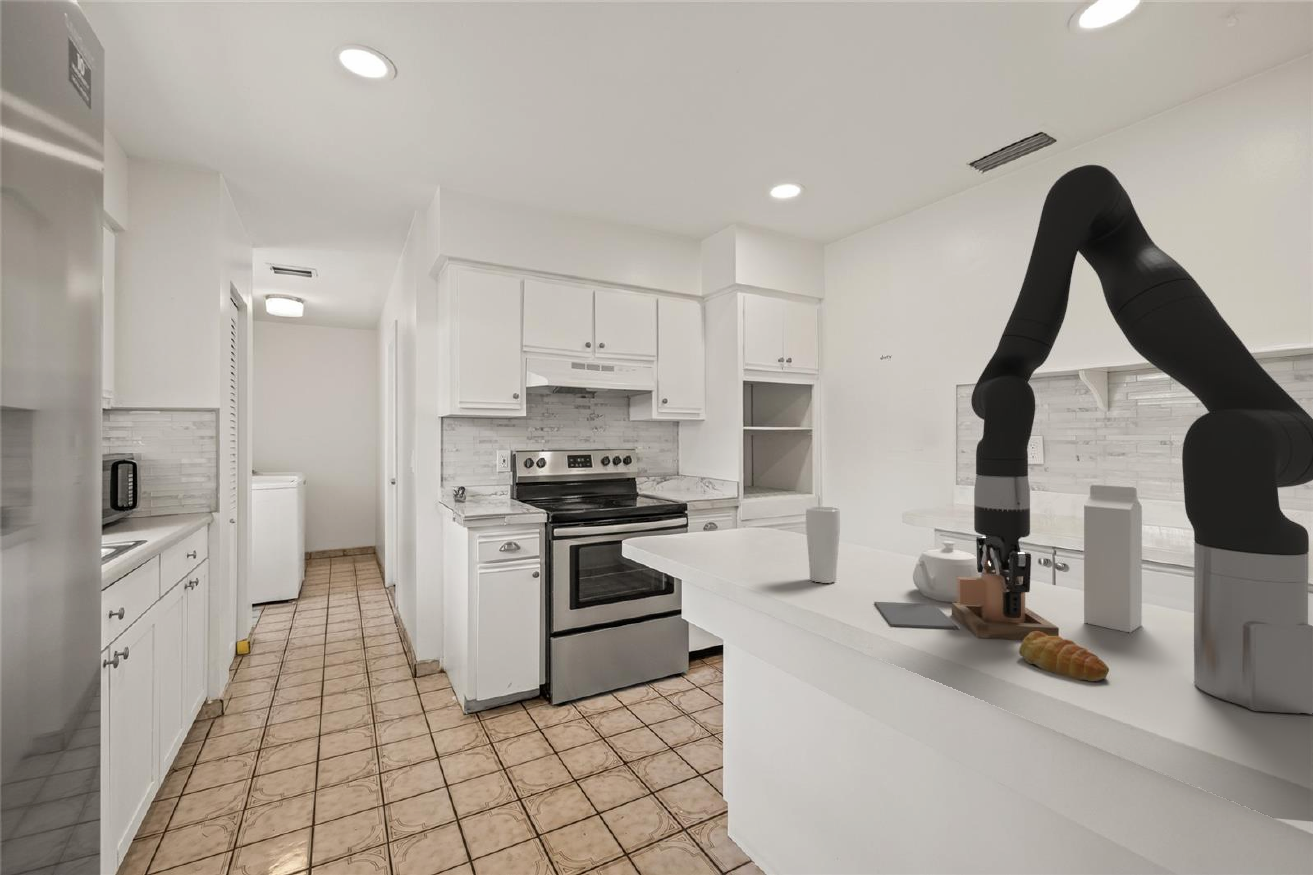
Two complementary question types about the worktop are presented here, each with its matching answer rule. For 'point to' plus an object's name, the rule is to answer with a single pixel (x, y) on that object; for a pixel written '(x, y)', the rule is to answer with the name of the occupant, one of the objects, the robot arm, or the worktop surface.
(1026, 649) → the pastry
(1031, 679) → the worktop surface
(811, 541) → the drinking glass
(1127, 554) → the milk
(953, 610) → the wooden tray
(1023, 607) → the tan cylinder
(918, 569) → the teapot
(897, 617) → the mat
